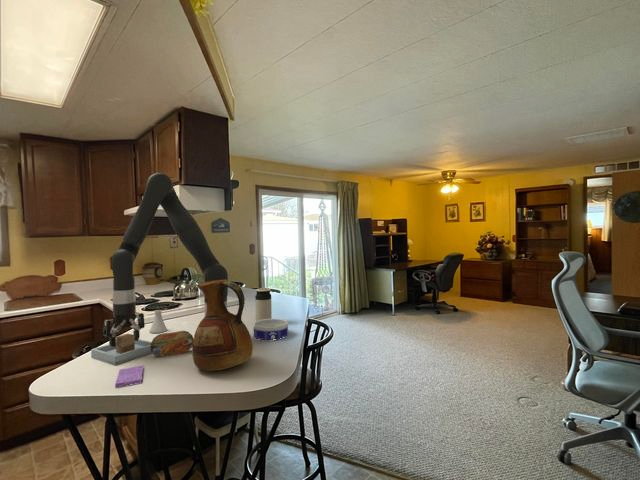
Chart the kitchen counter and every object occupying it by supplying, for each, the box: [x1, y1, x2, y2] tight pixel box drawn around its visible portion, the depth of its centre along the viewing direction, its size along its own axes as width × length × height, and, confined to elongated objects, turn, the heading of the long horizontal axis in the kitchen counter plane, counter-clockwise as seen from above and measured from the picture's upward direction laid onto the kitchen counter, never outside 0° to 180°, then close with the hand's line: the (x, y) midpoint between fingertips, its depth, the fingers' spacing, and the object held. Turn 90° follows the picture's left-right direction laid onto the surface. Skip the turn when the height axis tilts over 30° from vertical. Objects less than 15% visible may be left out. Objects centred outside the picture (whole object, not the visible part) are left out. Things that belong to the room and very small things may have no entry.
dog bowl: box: [253, 318, 289, 341], centre depth 146 cm, size 15×15×6 cm
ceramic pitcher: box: [191, 279, 254, 371], centre depth 112 cm, size 20×20×30 cm
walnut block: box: [115, 333, 135, 354], centre depth 124 cm, size 4×4×6 cm
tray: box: [90, 338, 153, 366], centre depth 124 cm, size 16×16×3 cm
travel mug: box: [254, 287, 273, 322], centre depth 165 cm, size 8×8×18 cm
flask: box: [149, 309, 168, 334], centre depth 154 cm, size 7×7×10 cm
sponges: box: [114, 364, 144, 389], centre depth 103 cm, size 7×13×2 cm, turn 27°
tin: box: [150, 330, 194, 358], centre depth 124 cm, size 15×3×8 cm, turn 117°
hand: (125, 343), depth 124 cm, fingers open, 8 cm apart
